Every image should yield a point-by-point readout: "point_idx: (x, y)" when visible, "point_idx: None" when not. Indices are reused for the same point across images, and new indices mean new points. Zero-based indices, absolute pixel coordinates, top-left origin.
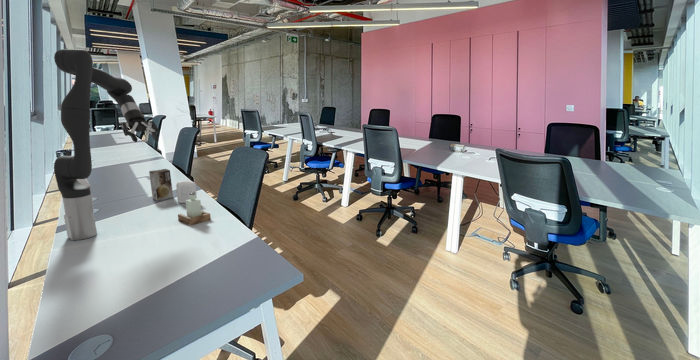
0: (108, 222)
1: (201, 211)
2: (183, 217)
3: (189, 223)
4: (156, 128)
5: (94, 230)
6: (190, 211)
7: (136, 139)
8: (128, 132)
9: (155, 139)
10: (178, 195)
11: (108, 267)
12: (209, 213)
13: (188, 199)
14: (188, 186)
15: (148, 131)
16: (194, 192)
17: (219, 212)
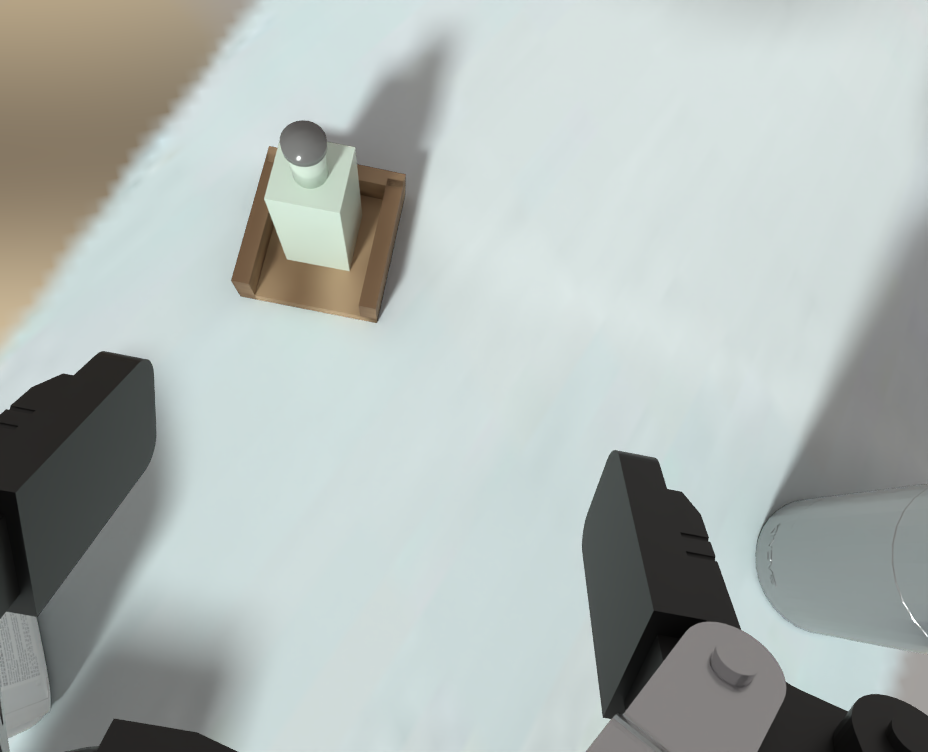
0: None
1: (258, 225)
2: (390, 245)
3: (403, 196)
4: None
5: (793, 508)
6: (356, 200)
7: (639, 458)
8: (837, 725)
9: (151, 396)
10: (17, 707)
11: (885, 98)
12: (269, 151)
13: None
14: None
15: (3, 727)
16: (286, 134)
17: (132, 225)
